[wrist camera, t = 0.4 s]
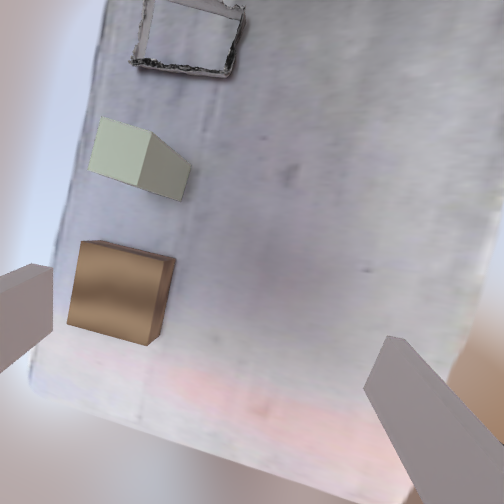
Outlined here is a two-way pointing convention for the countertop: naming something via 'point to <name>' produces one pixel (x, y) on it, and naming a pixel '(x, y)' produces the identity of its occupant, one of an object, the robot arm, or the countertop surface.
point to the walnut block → (120, 291)
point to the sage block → (138, 159)
